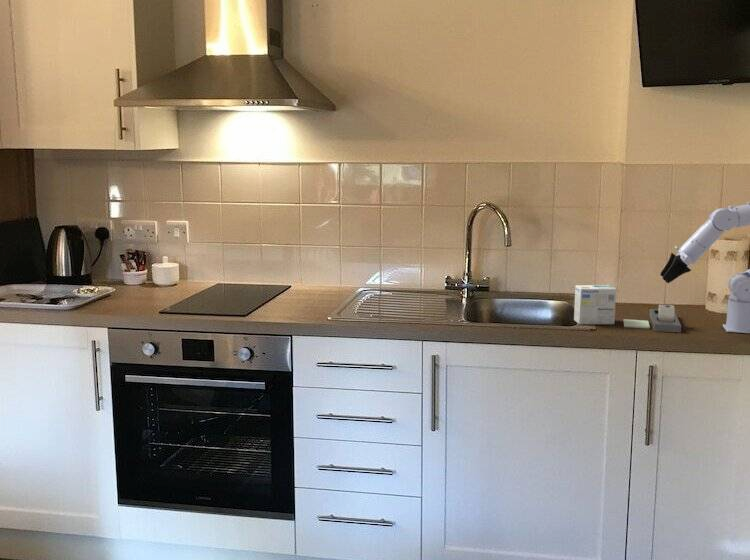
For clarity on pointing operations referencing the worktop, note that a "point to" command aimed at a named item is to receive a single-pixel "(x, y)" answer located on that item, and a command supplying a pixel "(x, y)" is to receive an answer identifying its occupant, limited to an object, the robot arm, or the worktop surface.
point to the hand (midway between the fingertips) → (663, 278)
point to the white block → (666, 313)
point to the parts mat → (636, 323)
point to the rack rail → (664, 323)
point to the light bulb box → (595, 304)
